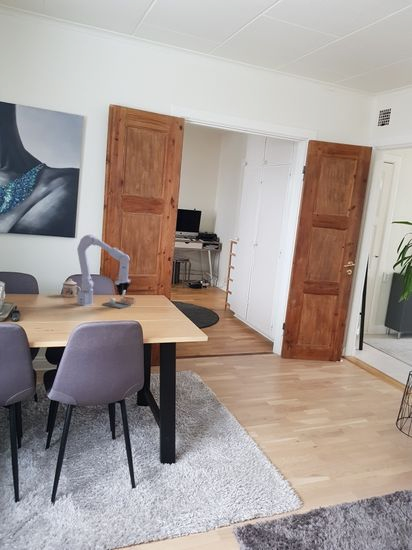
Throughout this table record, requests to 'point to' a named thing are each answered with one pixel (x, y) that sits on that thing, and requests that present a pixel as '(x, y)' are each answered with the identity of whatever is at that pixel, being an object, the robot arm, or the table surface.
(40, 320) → the table surface
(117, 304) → the parts tray
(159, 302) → the table surface
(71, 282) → the teacup with lid
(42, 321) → the table surface
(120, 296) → the white egg
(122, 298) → the bowl
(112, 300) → the stone pebble near
